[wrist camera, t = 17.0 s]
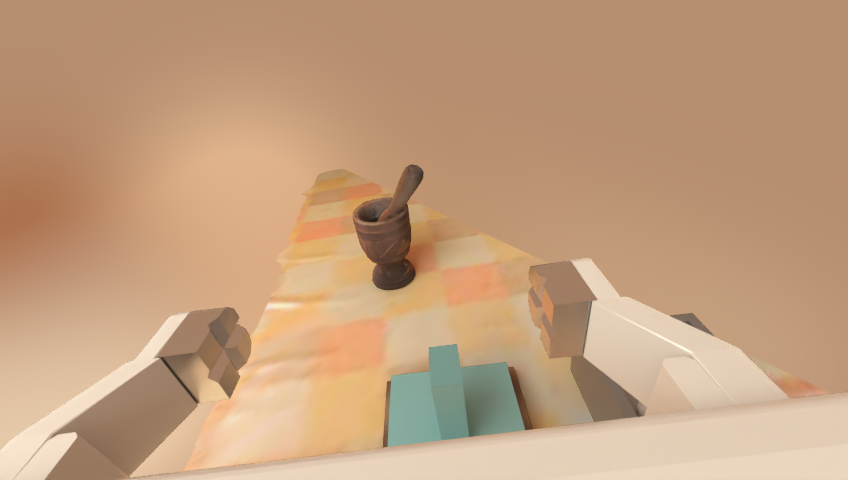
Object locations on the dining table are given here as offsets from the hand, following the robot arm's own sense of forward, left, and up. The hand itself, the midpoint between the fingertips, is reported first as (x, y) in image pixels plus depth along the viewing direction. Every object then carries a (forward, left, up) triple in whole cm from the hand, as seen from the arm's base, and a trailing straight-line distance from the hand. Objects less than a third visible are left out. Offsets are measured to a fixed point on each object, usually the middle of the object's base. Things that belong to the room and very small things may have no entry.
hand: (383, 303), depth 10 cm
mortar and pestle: (+41, +5, -30) cm, 51 cm away
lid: (+12, -1, -29) cm, 32 cm away
